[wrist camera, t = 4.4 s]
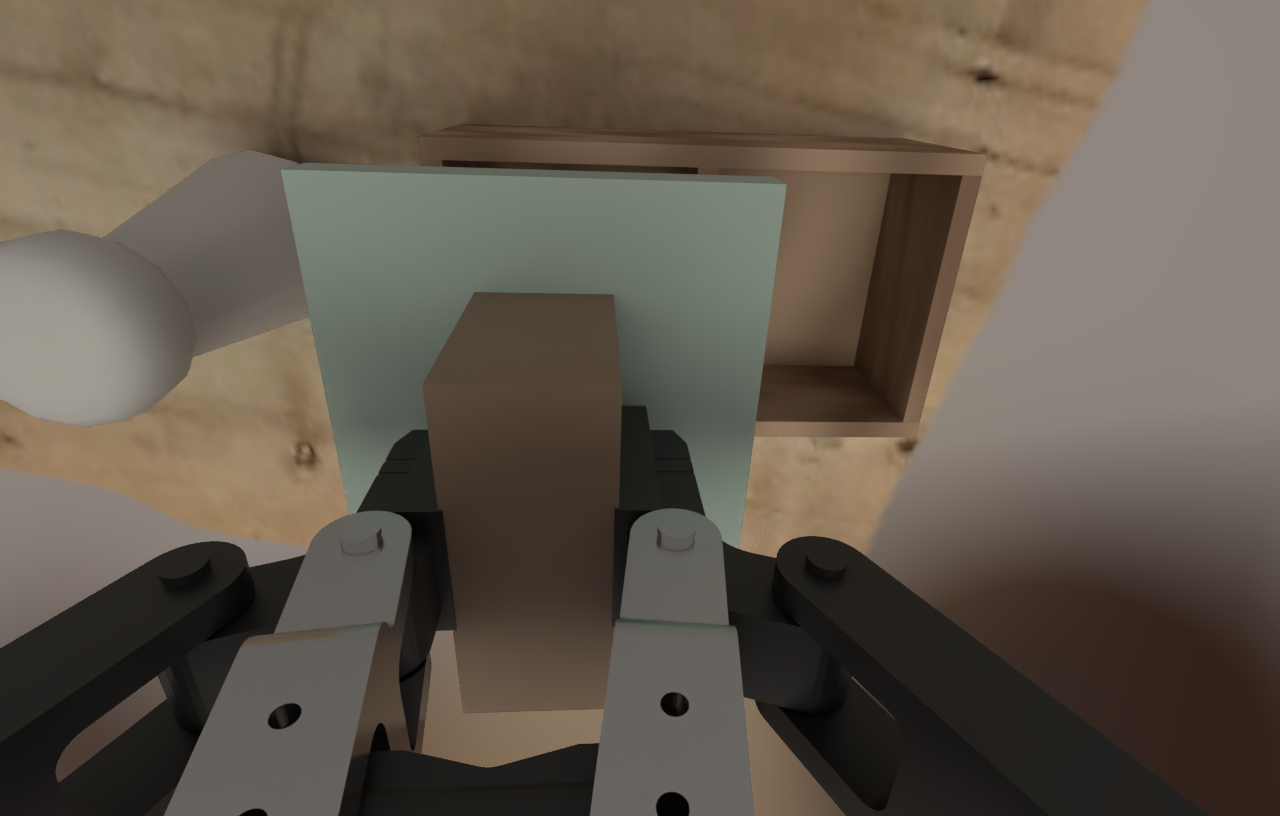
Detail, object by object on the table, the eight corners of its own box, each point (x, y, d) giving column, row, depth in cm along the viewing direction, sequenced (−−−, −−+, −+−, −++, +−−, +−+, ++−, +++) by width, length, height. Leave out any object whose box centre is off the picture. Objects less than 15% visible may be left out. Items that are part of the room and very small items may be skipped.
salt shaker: (237, 114, 23) (-130, 148, 12) (394, 190, 25) (207, 288, 13) (204, 260, 25) (-132, 410, 14) (350, 322, 27) (156, 506, 15)
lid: (384, 596, 16) (302, 796, 11) (305, 162, 11) (121, 214, 7) (722, 590, 17) (770, 777, 12) (772, 176, 12) (877, 231, 8)
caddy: (480, 367, 28) (451, 434, 23) (460, 124, 24) (417, 136, 18) (858, 371, 29) (915, 437, 24) (904, 138, 25) (987, 154, 19)
